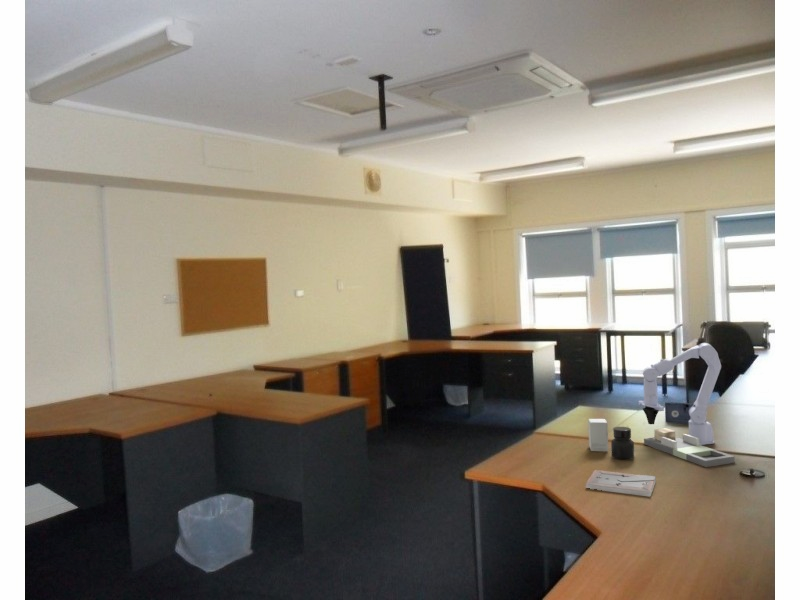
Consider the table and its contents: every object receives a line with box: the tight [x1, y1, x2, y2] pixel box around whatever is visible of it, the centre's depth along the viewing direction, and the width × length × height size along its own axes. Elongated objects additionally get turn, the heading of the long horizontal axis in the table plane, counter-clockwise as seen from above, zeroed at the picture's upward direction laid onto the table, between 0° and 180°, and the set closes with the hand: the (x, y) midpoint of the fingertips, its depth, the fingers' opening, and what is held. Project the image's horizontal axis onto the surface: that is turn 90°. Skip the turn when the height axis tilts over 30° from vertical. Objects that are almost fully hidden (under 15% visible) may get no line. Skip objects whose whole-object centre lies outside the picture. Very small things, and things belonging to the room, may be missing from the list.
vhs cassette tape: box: [664, 401, 694, 425], centre depth 300 cm, size 18×3×10 cm, turn 58°
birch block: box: [653, 427, 677, 441], centre depth 265 cm, size 6×6×4 cm
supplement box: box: [587, 418, 609, 452], centre depth 263 cm, size 7×7×13 cm
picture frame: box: [585, 469, 657, 498], centre depth 218 cm, size 16×2×22 cm
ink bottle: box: [610, 426, 635, 461], centre depth 250 cm, size 10×9×12 cm
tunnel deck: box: [643, 433, 735, 468], centre depth 252 cm, size 14×36×6 cm, turn 16°
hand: (651, 423), depth 273 cm, fingers closed
